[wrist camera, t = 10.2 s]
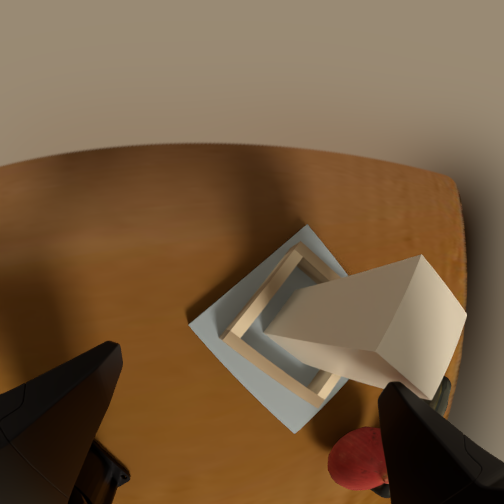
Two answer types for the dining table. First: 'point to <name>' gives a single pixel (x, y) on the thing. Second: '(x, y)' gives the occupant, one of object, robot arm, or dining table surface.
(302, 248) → the socket collar
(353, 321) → the block
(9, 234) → the dining table surface
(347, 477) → the onion
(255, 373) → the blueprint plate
